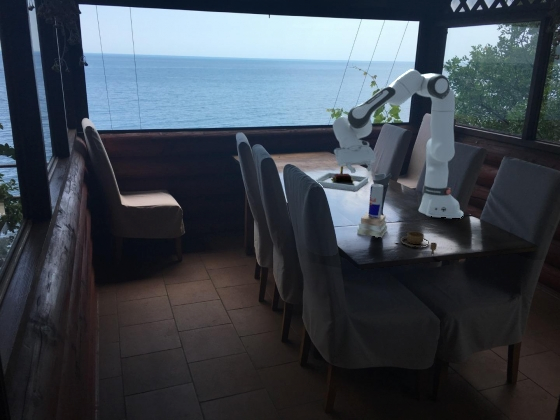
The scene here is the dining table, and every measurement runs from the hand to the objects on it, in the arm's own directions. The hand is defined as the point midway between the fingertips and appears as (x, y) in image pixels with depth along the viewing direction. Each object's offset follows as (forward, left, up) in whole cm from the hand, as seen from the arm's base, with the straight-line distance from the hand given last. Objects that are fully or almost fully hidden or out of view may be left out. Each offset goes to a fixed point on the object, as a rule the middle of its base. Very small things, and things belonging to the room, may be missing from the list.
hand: (362, 171), depth 226 cm
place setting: (-30, +15, -27) cm, 43 cm away
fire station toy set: (+31, -73, -27) cm, 84 cm away
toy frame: (+34, -76, -26) cm, 87 cm away
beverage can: (-9, +6, -19) cm, 22 cm away
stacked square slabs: (-8, +6, -26) cm, 28 cm away
